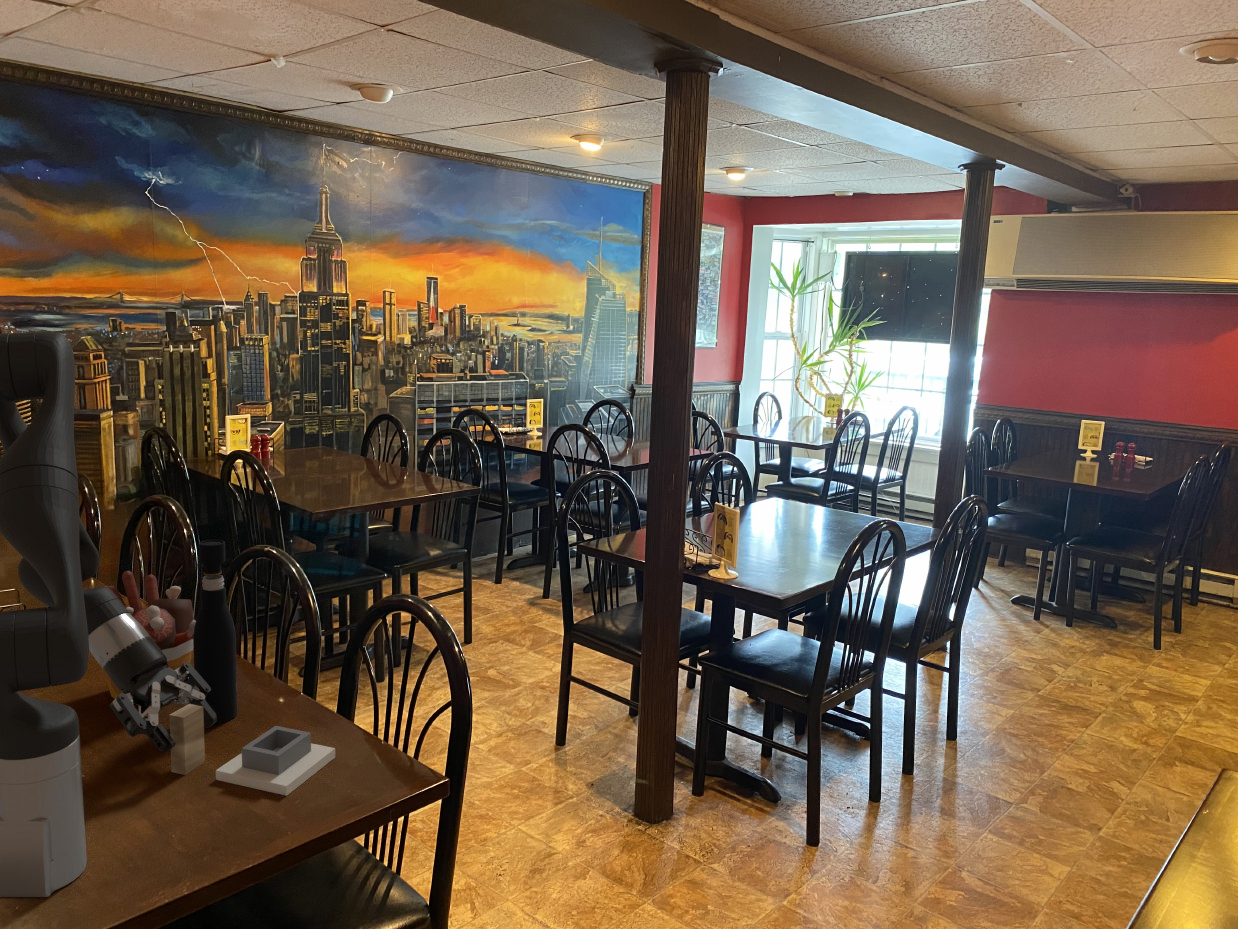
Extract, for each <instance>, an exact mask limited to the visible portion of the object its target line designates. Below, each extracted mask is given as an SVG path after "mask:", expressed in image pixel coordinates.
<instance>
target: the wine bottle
mask: <svg viewBox="0 0 1238 929" xmlns="http://www.w3.org/2000/svg"><path fill="white" fill-rule="evenodd" d="M198 550H199V551H198V555H199V556H198V557H199V563H200V564H201V565H204V567H203V569H204V572H203V575H204V576H203V577H202V580H201V583H202V584H201V586H202V587H201V588H200V608H199V609H198V610H199V611H198V613H197V617H196V619H195V621H196V623H195V628H194V634H193V668H194V669H195V670H196V671H197V672H198V673H199V675H200V676H201V677H202V678H203V679H204V680H205V682H206V683H207V684H208V685H209V686H210V688H211V691H210V692H209V693H208V694H207V695H206V697H205V700H206V702H207V703H208V704H209V706H210V707H211V709H213V711H214V712H215V713H216V717H217V721H216V722H215V723H214V724H213V725H216V724H217V725H218V724H222V723H226V722H229V721H232V719H235V718H236V717H237V715H238V679H237V678H238V675H237V673H238V672H237V671H238V670H237V636H236V635H237V634H236V627H235V623H234V619H233V617H232V613H231V611H230V609H229V607H228V604H227V588H226V587H225V582H224V581H225V578H224V576H223V574H222V564H224V563H225V562H226V542H225V540H221V539H206V540H202V541H199V543H198ZM221 574H222V575H221ZM196 686H197V687H198V689H199V690H200V687H199V686H198V685H197V684H196Z"/></svg>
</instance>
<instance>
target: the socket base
mask: <svg viewBox="0 0 1238 929" xmlns="http://www.w3.org/2000/svg"><path fill="white" fill-rule="evenodd" d="M335 758H336V748H335V747H331V746H326V745H322V744H315V743H312V732H309V731H304V730H299V729H295V728H288V727H284V726H279V725H274V726H273V727H271V728H270V729H268V730H267V731H265V732H264V733H262V734H261V735H259V736H258V737H257V738H255V739H254V740H252V741H250V742H249V743H247V744H246V745H245V746H243V747H241V753H239V754H238V755H236V756H235V757H234V758H232V759H230V760H229V761H228V762H226V763H225V764H223V765H221V766H220V767H219V768H216V770H215V780H216V781H219V782H224V783H228V784H234V785H238V786H242V787H247V788H251V789H255V790H260V791H263V792H264V791H265V792H269V793H273V794H277V795H282V796H286V797H287V796H289V795H290V794H291V793H293V791H295V790H296V789H297V788H299V787H300V786H301V785H302V784H304V783H305V782H306V781H307V780H309V779H310V778H312V776H314V775H315V774H316V773H318V772H319V771H320V770H321V769H323V768H324V767H325V766H326V765H328V764H329V763H330V762H331V761H333V760H334V759H335Z"/></svg>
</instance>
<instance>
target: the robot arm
mask: <svg viewBox="0 0 1238 929" xmlns="http://www.w3.org/2000/svg"><path fill="white" fill-rule="evenodd" d="M75 397H76V360H75V355H74V351H73V347H72V345H71V342H70V341H69V339H68V338H67V337H66V336H65V335H64V334H62V333H60V332H59V333H58V332H53V331H50V332H49V331H38V332H36V331H34V332H33V331H31V332H29V331H28V332H11V333H10V332H8V333H0V444H1V446H2V449H3V452H4V453H3V455H2V456H1V458H0V534H1V535H2V537H3V538H5V540H6V541H7V542H8V543H9V544H10V545H11V547H12V548H13V549H14V550H15V551H16V552H17V553H18V554H19V555H20V556H22V558H21V559H20V560H19V563H18V566H17V575H18V578H19V581H20V583H21V585H22V586H23V588H24V589H25V590H26V591H27V592H28V593H29V594H30V595H32V596H33V597H34V598H36V599H37V600H38V601H40V602H42V603H43V604H44V605H45V606H44V607H35V608H26V609H25V608H24V609H16V610H15V609H14V610H7V611H0V898H3V897H4V898H7V897H8V898H47V897H50V896H51V894H53V893H54V892H55V891H57V890H59V889H61V888H63V887H65V886H67V885H69V884H70V883H72V882H73V881H75V880H76V879H77V878H78V877H80V876H81V874H82V873H83V872H84V871H85V869H86V868H87V862H88V861H87V860H88V859H87V846H86V844H87V843H86V828H85V809H84V794H83V792H84V791H83V777H82V775H83V774H82V773H83V772H82V759H81V757H82V754H81V753H82V752H81V739H80V720H79V716H78V714H77V712H76V710H75V709H74V708H73V707H71V706H68V705H67V704H64V703H59V702H53V701H50V700H49V701H48V700H44V699H43V700H42V699H37V698H34V697H31V696H28V695H26V694H24V693H22V692H23V691H31V690H35V689H36V690H38V689H43V688H50V687H57V686H58V687H59V686H64V685H68V684H69V685H70V684H73V683H76V682H77V683H78V681H80V680H81V679H83V678H84V677H85V675H86V673H87V670H88V665H89V663H90V662H89V660H90V653H91V655H92V657H93V658H94V659H95V661H96V662H97V663H98V665H99V666H100V667H101V668H103V669H102V671H103V670H104V671H105V672H106V673H107V675H108V676H109V677H110V679H111V680H112V681H113V682H114V684H115V685H116V686H117V688H118V689H119V690H121V691H125V692H126V694H124V693H121V694H120V695H119V696H118V697H117V698H116V699H113V700H112V701H111V702H110V704H109V708H110V709H111V710H112V712H113V713H114V715H115V716H116V717H117V719H118V721H119V722H120V723H121V725H122V727H123V728H124V729H125V730H126V732H127V733H128V735H129V736H130V737H131V738H133V737H136V736H137V735H145V736H147V737H148V738H149V739H150V741H151V742H152V744H153V745H154V746H155V748H156V749H157V750H158V751H160V752H162V753H164V754H167V753H168V752H171V749H172V748H173V747H174V746H175V745H176V743H175V741H174V740H173V739H172V737H171V736H170V733H169V732H168V730H166V728H165V727H164V726H163V725H162V723H160V724H159V712H160V710H161V709H162V708H163V707H167V706H169V705H171V704H172V703H173V704H175V705H184V706H186V705H188V704H193V705H198V706H203V714H204V728H206V729H209V728H210V727H211V726H213V725H215V724H214V723H215V722H216V721H217V717H216V713H215V712H214V711H213V709H211V707H210V706H209V704H208V703H207V702H206V700H205V697H206V695H207V694H208V693H209V692H210V691H211V688H210V686H209V685H208V684H207V683H206V682H205V680H204V679H203V678H202V677H201V676H200V675H199V673H198V672H197V671H196V670H195V669H194V666H193V665H192V664H191V662H190V663H189V662H184V663H183V664H182V665H181V666H180V667H179V668H177V669H176V670H173V669H171V668H170V667H169V666H168V665H167V657H166V656H165V654H164V653H163V652H162V651H161V649H160V648H159V647H158V646H157V644H156V643H155V642H154V640H153V639H152V638H151V637H150V635H149V634H148V633H147V632H146V630H145V629H144V628H143V626H142V625H141V624H140V623H139V622H138V621H137V620H136V619H135V618H134V617H133V616H132V615H131V614H130V613H129V611H128V610H127V609H126V608H125V606H124V605H123V604H122V603H121V601H120V600H119V599H118V597H117V596H116V595H115V594H114V593H113V592H112V591H111V590H110V589H109V588H107V587H105V586H99V587H93V588H88V589H84V588H83V583H85V582H86V581H87V580H90V579H91V578H93V577H95V575H96V574H97V572H98V571H99V568H100V565H101V564H100V563H101V557H100V552H99V551H98V549H97V547H96V546H95V543H94V542H93V541H92V539H91V537H90V535H89V534H88V531H87V530H86V527H85V525H84V524H83V523H84V522H83V521H82V518H81V516H80V497H79V478H78V477H79V476H78V469H77V468H78V466H77V458H76V446H75V445H76V444H75V425H74V424H75V402H76V400H75ZM35 400H36V401H37V400H42V401H41V404H40V407H39V409H38V412H37V413H36V415H35V417H34V418H33V419H32V421H31V422H30V424H29V425H27V423H26V421H25V420H24V419H23V417H22V416H21V413H20V411H19V408H18V405H17V403H16V402H19V401H21V402H22V401H35ZM46 606H47V607H46ZM196 684H197V685H198V686H199V687H200V690H199V689H198V687H197V686H196ZM179 690H180V691H181V692H180V693H179ZM133 703H134V704H136V705H133ZM135 706H138V709H137V708H136V707H135Z"/></svg>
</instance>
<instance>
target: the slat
mask: <svg viewBox="0 0 1238 929" xmlns="http://www.w3.org/2000/svg"><path fill="white" fill-rule="evenodd" d="M169 735H170V736H171V737H172V739H173V740H174V741H175V743H176V745H175V746H174V747H173V748H172V749H171V750H170V761H171V762H170V763H171V767H170V768H171V773H175V774H180V775H185V776H187V775H188V774H189V773H191V772H192V771H194V770H196V769H197V768H199V767H200V766H202V765H203V764H205V763H206V756H205V755H206V752H205V751H206V749H205V726H204V714H203V706H198V705H193V704H188V705H184V706H183V707H180V708H179V709H177V710H175V711H174V712H171V713H170V714H169Z"/></svg>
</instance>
